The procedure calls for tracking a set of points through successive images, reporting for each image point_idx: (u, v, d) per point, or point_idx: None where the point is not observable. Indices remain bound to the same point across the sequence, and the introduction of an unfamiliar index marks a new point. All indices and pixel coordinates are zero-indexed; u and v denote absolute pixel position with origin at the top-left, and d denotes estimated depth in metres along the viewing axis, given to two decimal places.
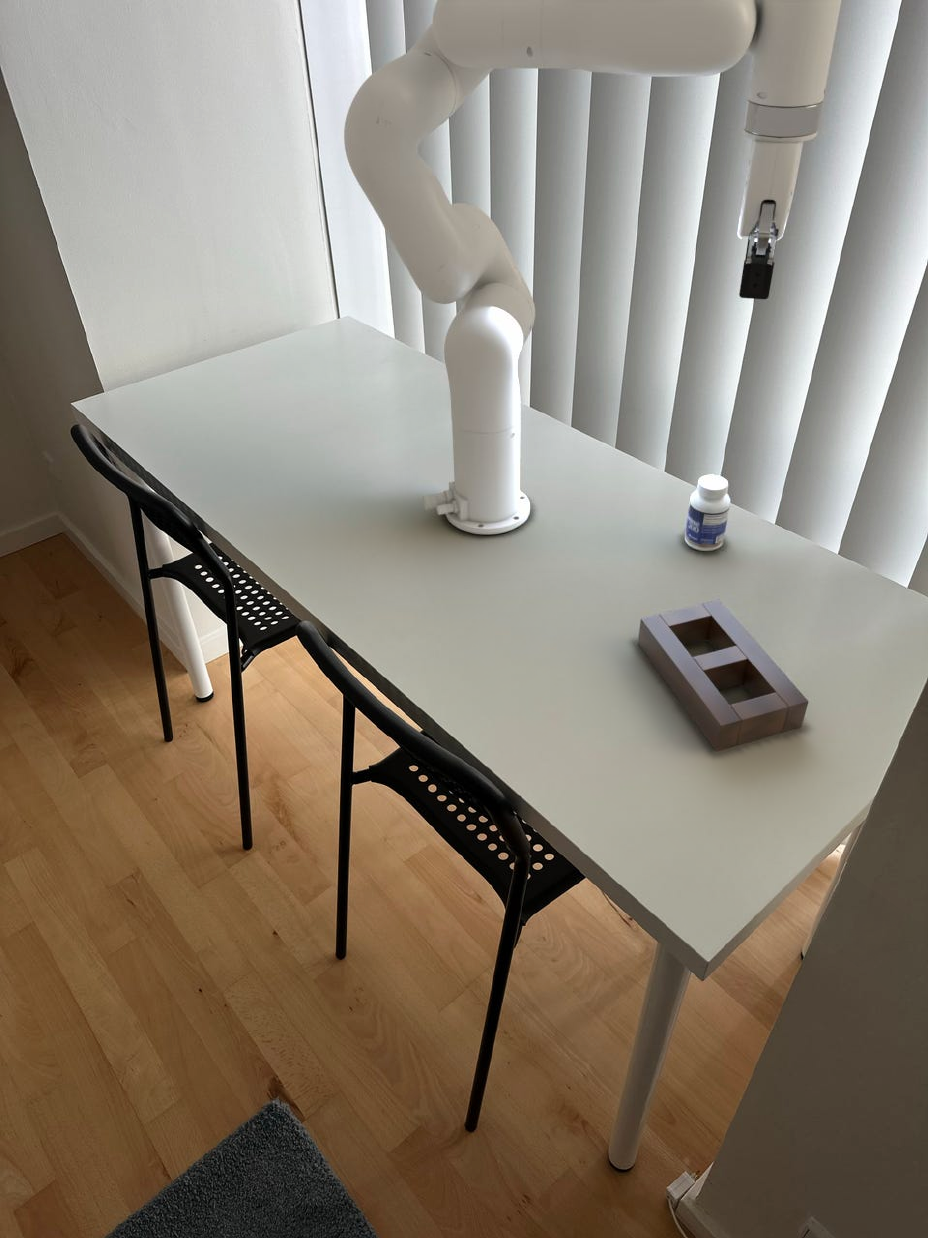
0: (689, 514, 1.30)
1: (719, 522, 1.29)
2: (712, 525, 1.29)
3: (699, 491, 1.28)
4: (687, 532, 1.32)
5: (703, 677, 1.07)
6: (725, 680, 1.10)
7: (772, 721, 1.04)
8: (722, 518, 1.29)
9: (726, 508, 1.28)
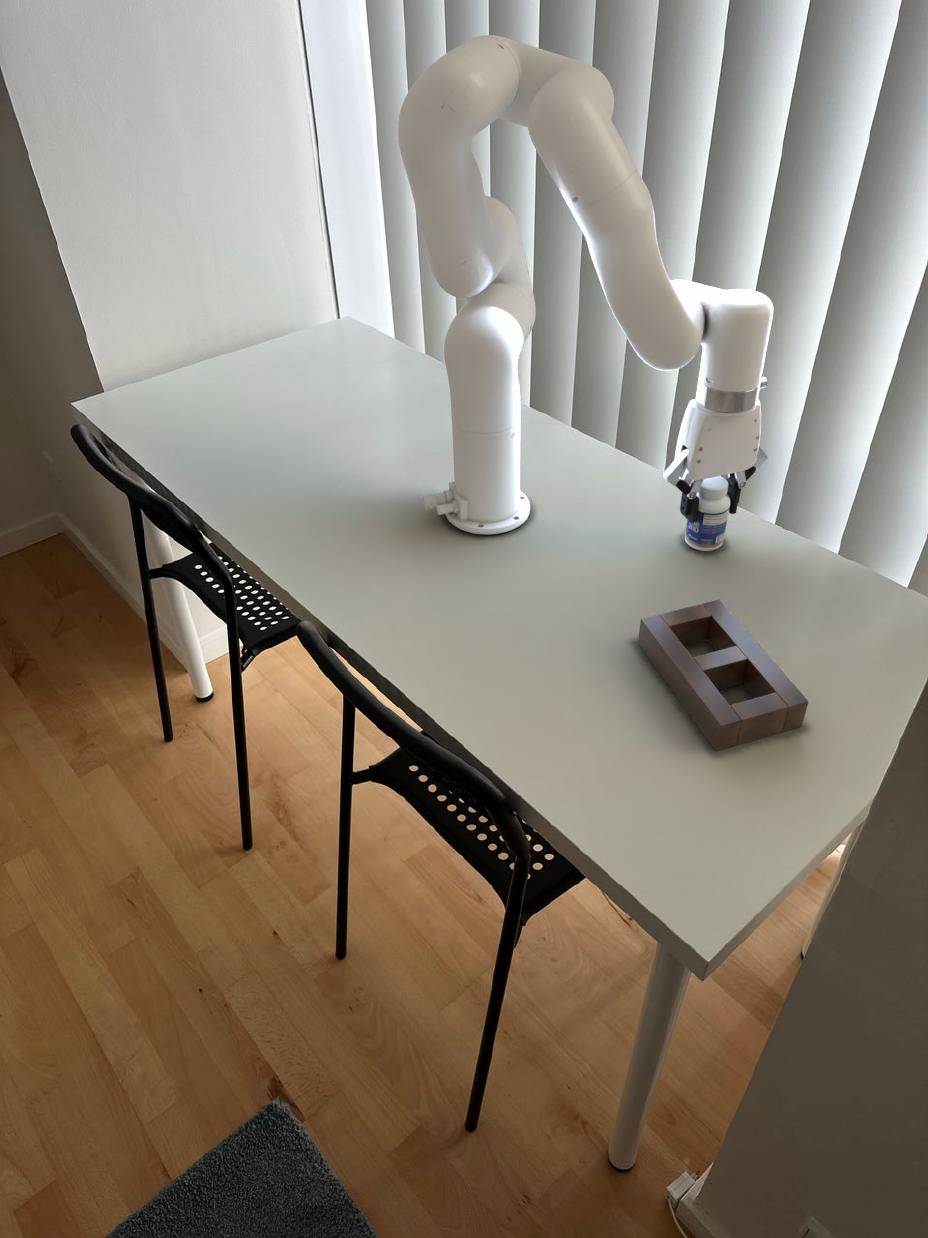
0: None
1: (719, 522, 1.29)
2: (712, 525, 1.29)
3: (699, 491, 1.28)
4: (687, 532, 1.32)
5: (703, 677, 1.07)
6: (725, 680, 1.10)
7: (772, 721, 1.04)
8: (722, 518, 1.29)
9: (726, 508, 1.28)
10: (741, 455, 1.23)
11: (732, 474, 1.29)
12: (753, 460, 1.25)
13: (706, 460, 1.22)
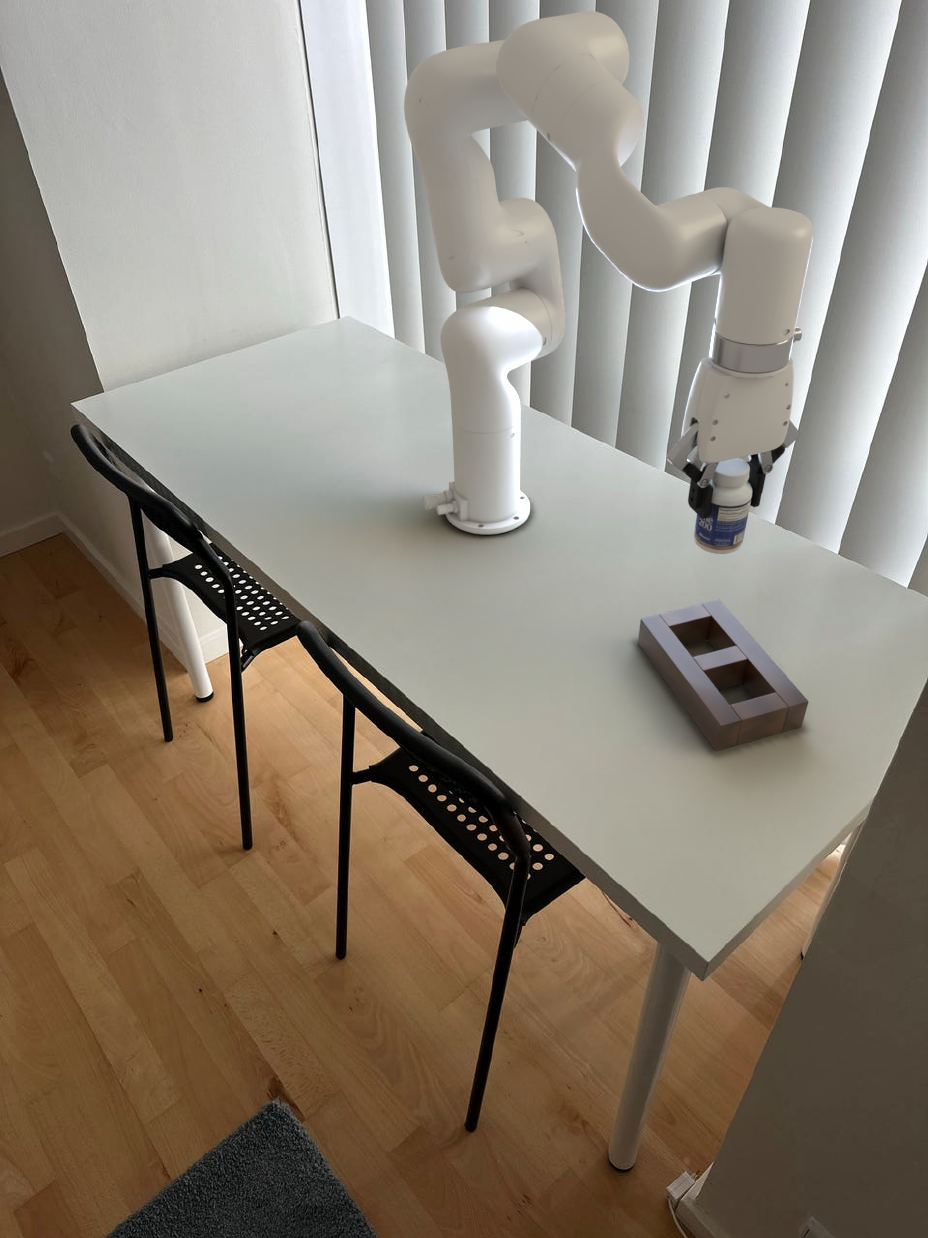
0: None
1: (739, 517, 1.01)
2: (729, 521, 1.01)
3: (713, 478, 1.00)
4: (697, 530, 1.04)
5: (703, 677, 1.07)
6: (725, 680, 1.10)
7: (772, 721, 1.04)
8: (742, 512, 1.01)
9: (747, 499, 1.00)
10: (767, 430, 0.95)
11: (754, 456, 1.01)
12: (782, 437, 0.97)
13: (723, 437, 0.94)
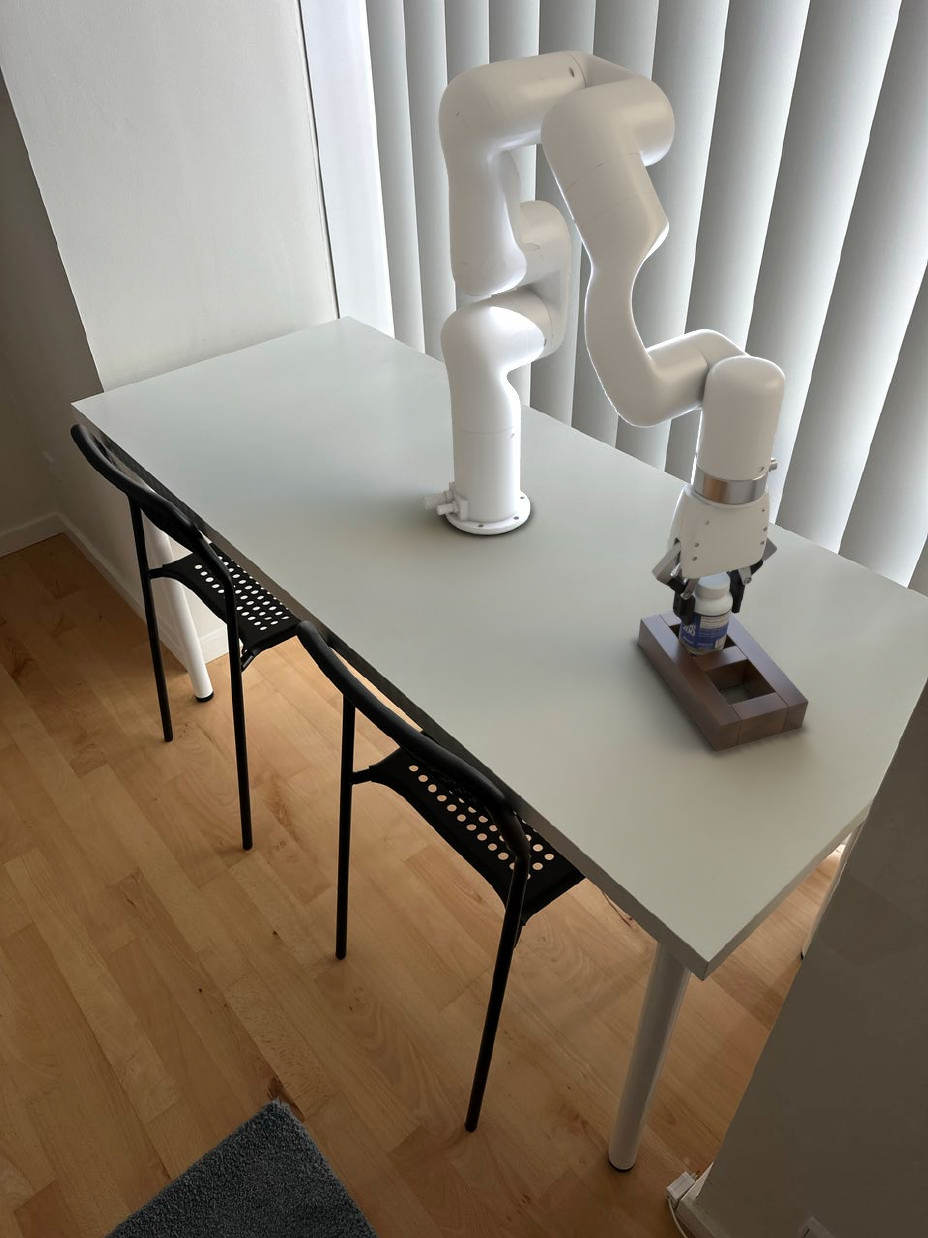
0: None
1: (720, 625, 1.08)
2: (711, 628, 1.08)
3: (695, 589, 1.07)
4: (681, 633, 1.11)
5: (703, 677, 1.07)
6: (725, 680, 1.10)
7: (772, 721, 1.04)
8: (723, 620, 1.08)
9: (728, 608, 1.07)
10: (746, 550, 1.02)
11: None
12: (760, 554, 1.04)
13: (703, 557, 1.01)
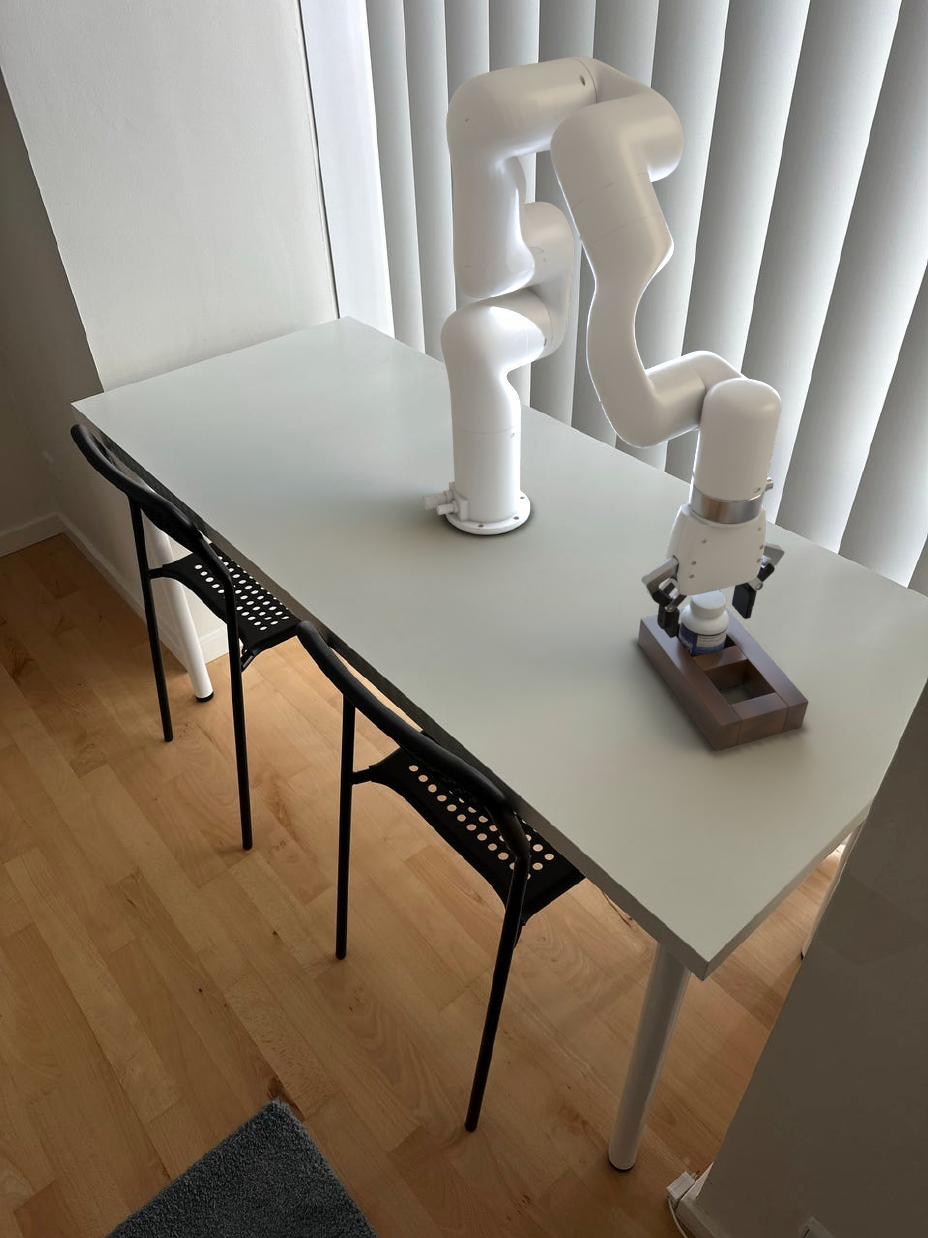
0: (681, 632, 1.12)
1: (716, 643, 1.10)
2: (707, 647, 1.10)
3: (692, 608, 1.09)
4: None
5: (703, 677, 1.07)
6: (725, 680, 1.10)
7: (772, 721, 1.04)
8: (719, 639, 1.10)
9: (724, 628, 1.09)
10: (742, 567, 1.04)
11: None
12: (756, 571, 1.05)
13: (700, 574, 1.03)
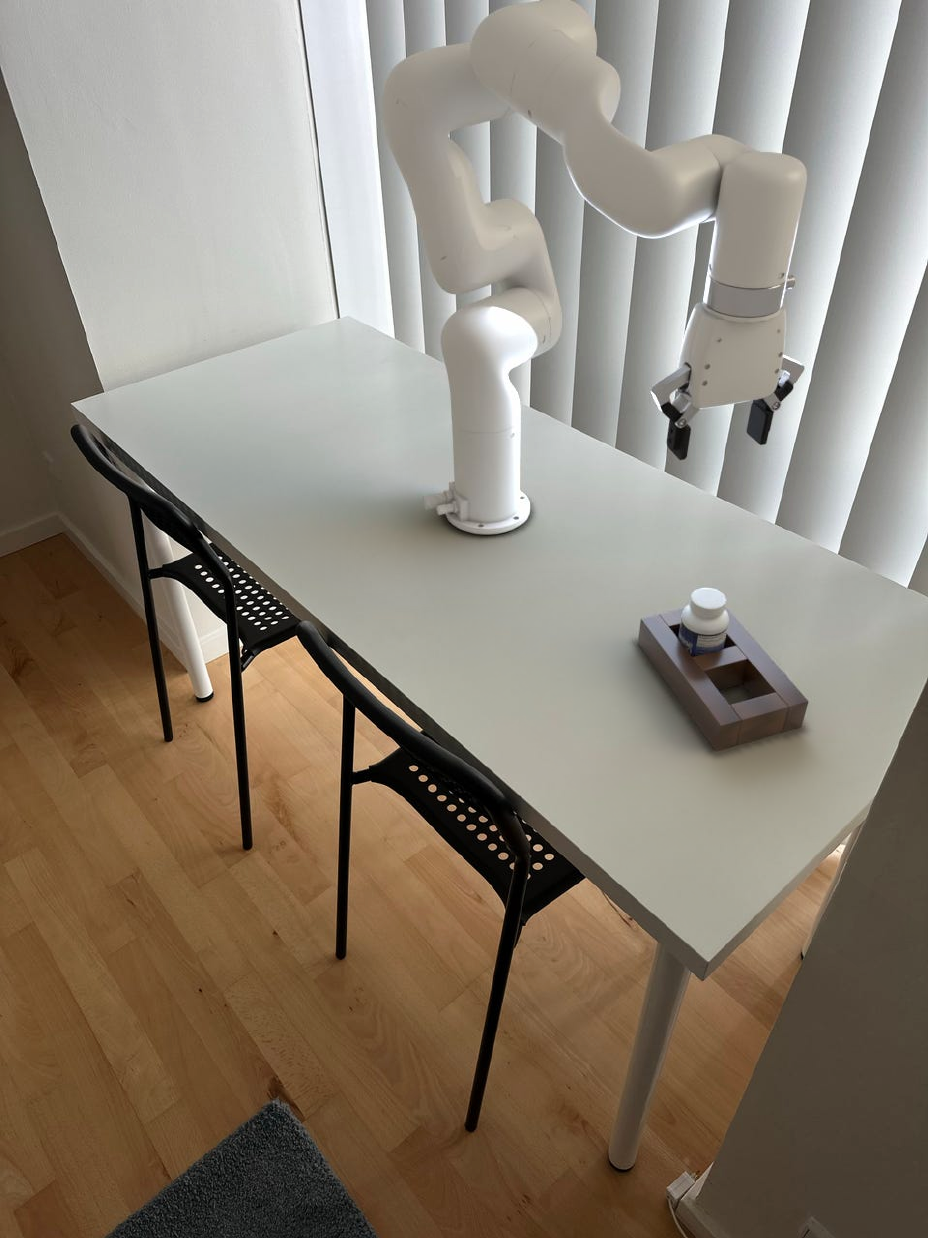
0: (681, 632, 1.12)
1: (716, 644, 1.10)
2: (707, 647, 1.10)
3: (692, 608, 1.09)
4: None
5: (703, 677, 1.07)
6: (725, 680, 1.10)
7: (772, 721, 1.04)
8: (719, 639, 1.10)
9: (724, 628, 1.09)
10: (759, 377, 0.97)
11: None
12: (774, 385, 0.99)
13: (714, 382, 0.96)
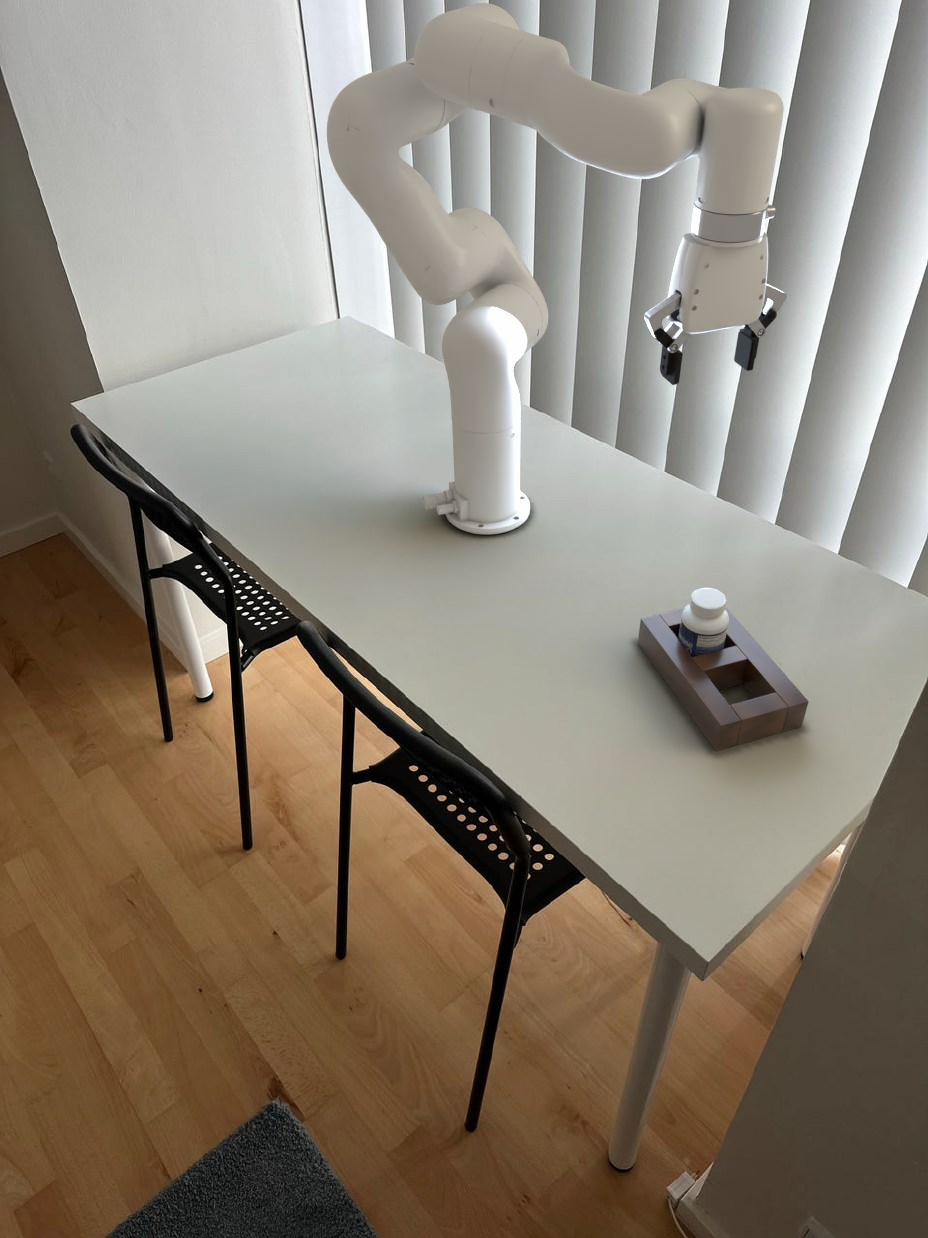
0: (681, 632, 1.12)
1: (716, 644, 1.10)
2: (707, 647, 1.10)
3: (692, 608, 1.09)
4: None
5: (703, 677, 1.07)
6: (725, 680, 1.10)
7: (772, 721, 1.04)
8: (719, 639, 1.10)
9: (724, 628, 1.09)
10: (744, 302, 1.04)
11: (747, 323, 1.10)
12: (758, 311, 1.06)
13: (703, 306, 1.03)
